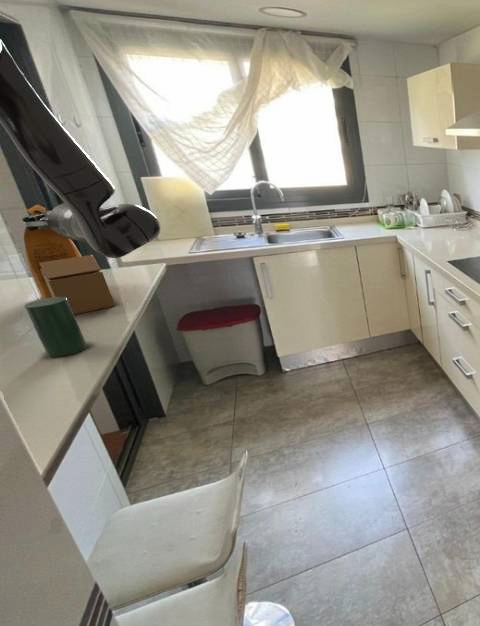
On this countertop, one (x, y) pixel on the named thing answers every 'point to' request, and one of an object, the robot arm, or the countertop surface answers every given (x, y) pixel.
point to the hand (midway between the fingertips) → (49, 215)
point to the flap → (69, 266)
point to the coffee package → (45, 250)
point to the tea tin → (56, 326)
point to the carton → (82, 291)
